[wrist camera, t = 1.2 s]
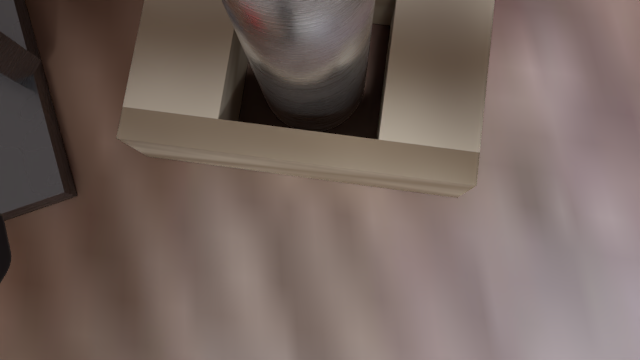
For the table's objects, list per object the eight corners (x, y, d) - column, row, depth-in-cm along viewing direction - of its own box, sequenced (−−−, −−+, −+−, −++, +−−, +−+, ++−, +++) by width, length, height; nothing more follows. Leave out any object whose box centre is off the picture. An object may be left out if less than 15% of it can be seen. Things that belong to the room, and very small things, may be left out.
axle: (304, 152, 21) (259, 6, 10) (242, 74, 22) (127, -152, 10) (385, 89, 22) (438, -128, 10) (322, 15, 22) (300, -274, 10)
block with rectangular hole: (457, 197, 21) (476, 185, 18) (147, 156, 22) (116, 138, 19) (477, 9, 22) (498, -32, 19) (181, -25, 23) (158, -69, 20)
